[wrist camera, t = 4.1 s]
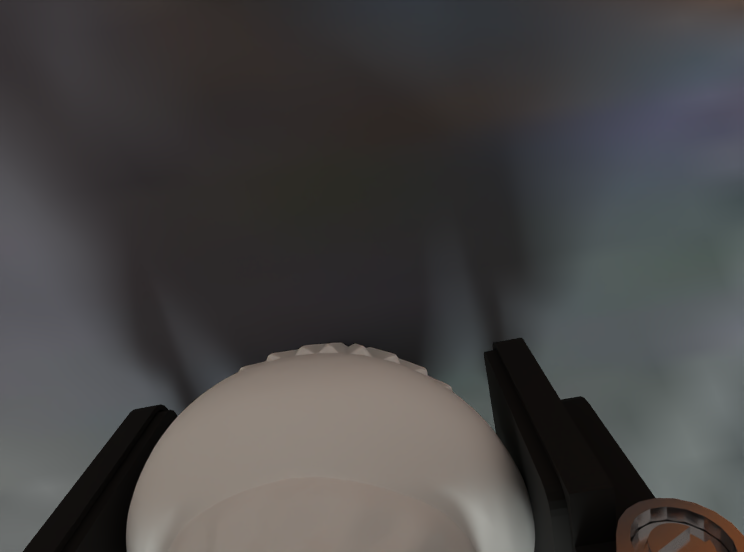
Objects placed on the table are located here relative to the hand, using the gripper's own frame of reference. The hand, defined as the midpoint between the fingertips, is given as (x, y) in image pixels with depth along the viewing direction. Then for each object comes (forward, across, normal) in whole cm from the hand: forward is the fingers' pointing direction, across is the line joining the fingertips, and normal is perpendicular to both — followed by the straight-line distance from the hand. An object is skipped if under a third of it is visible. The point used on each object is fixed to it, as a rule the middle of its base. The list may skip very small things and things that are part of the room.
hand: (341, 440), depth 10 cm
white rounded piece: (+1, 0, 0) cm, 1 cm away
